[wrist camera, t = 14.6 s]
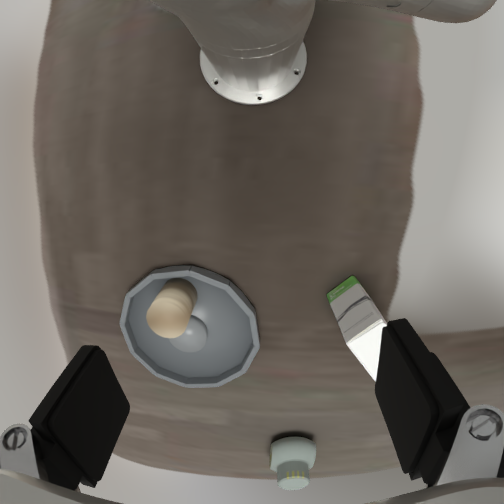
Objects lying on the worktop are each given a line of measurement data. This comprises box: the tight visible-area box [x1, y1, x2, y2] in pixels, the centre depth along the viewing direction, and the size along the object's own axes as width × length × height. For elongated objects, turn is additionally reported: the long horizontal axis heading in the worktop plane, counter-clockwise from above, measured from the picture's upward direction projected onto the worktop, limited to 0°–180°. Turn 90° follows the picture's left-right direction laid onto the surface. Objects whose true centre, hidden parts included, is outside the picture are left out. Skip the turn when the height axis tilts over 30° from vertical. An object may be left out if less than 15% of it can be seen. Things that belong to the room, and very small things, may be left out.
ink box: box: [327, 276, 387, 382], centre depth 37 cm, size 9×5×12 cm, turn 39°
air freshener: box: [269, 437, 316, 490], centre depth 49 cm, size 11×8×10 cm
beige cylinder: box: [146, 278, 197, 338], centre depth 39 cm, size 5×5×7 cm
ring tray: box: [120, 265, 260, 388], centre depth 43 cm, size 20×20×2 cm
